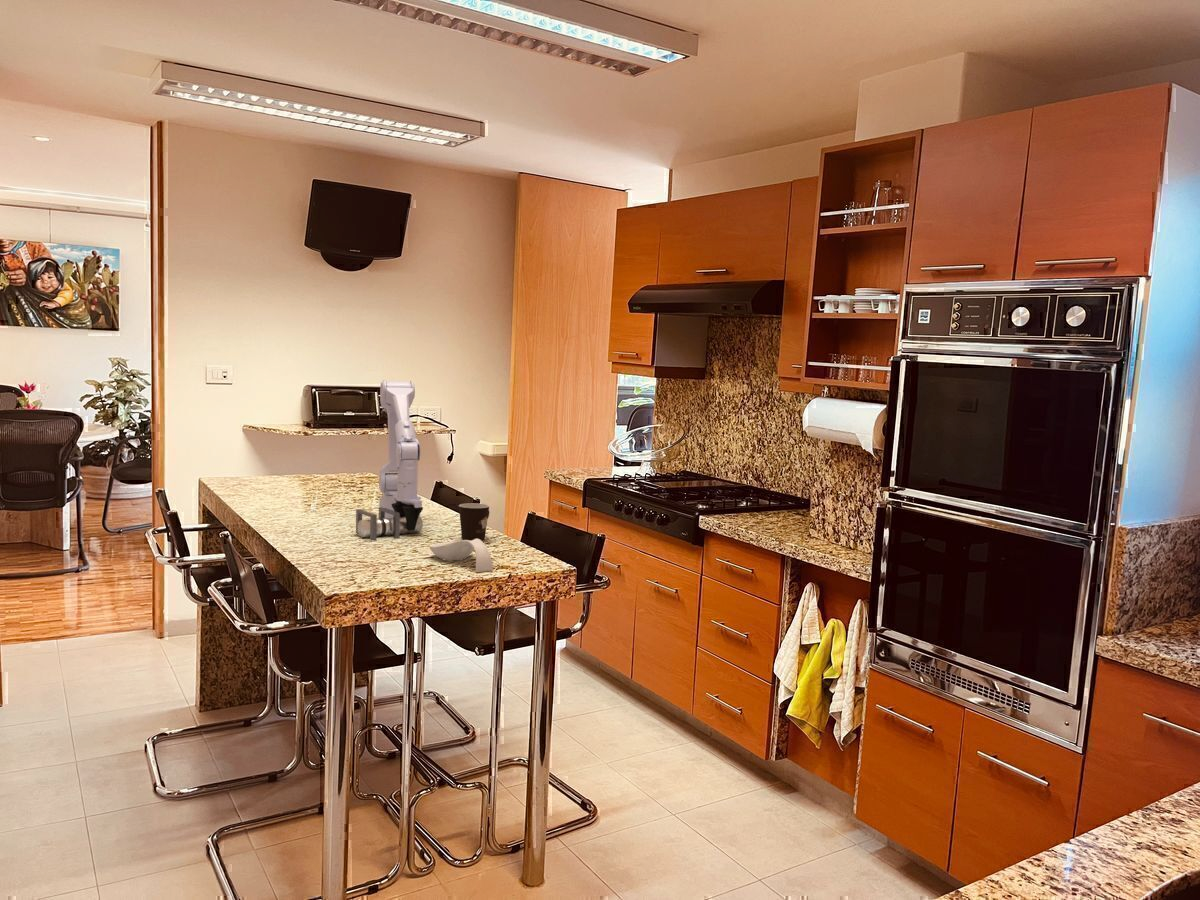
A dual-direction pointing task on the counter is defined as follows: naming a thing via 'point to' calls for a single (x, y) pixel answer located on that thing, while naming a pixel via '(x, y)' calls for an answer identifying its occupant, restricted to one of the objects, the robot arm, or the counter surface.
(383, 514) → the collar
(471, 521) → the coffee mug
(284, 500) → the counter surface
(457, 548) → the spoon rest
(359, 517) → the collar
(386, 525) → the tube
